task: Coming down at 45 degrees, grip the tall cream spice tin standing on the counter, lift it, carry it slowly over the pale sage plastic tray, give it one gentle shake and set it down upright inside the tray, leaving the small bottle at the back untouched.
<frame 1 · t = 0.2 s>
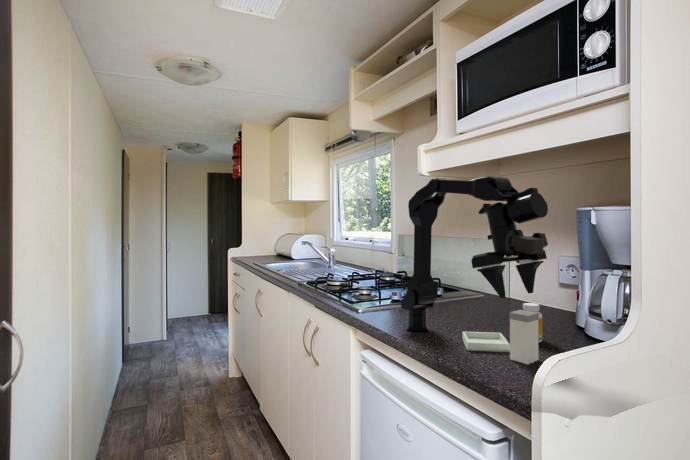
hand: (517, 295, 91), 15 cm above the worktop, tool pointing down, fingers open, 9 cm apart
tray: (484, 345, 104), on the worktop
supplement bottle: (531, 340, 108), on the worktop
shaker: (524, 359, 93), on the worktop
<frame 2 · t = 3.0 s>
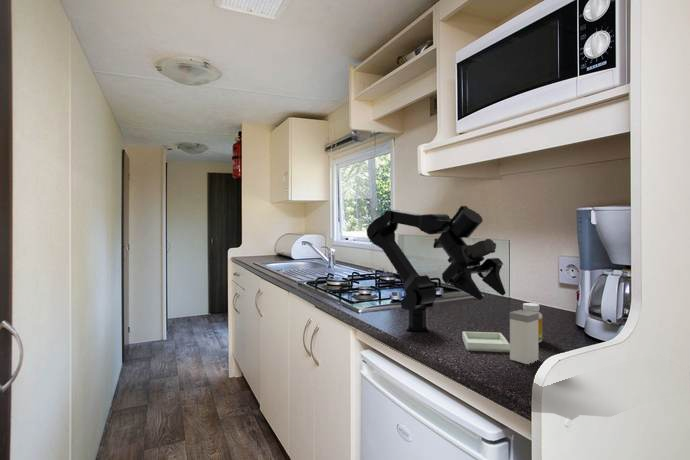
hand: (493, 296, 99), 13 cm above the worktop, tool tilted 45°, fingers open, 9 cm apart
nothing on the worktop moved.
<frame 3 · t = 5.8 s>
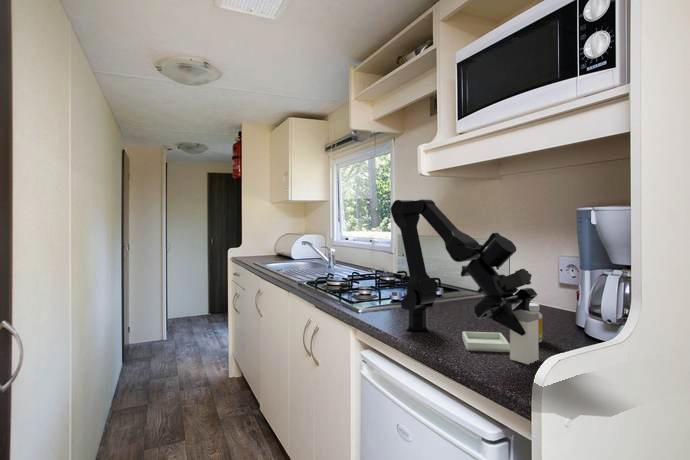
hand: (529, 332, 92), 7 cm above the worktop, tool tilted 45°, fingers closed on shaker, 4 cm apart
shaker: (524, 359, 93), on the worktop, touching gripper
everything else where it was.
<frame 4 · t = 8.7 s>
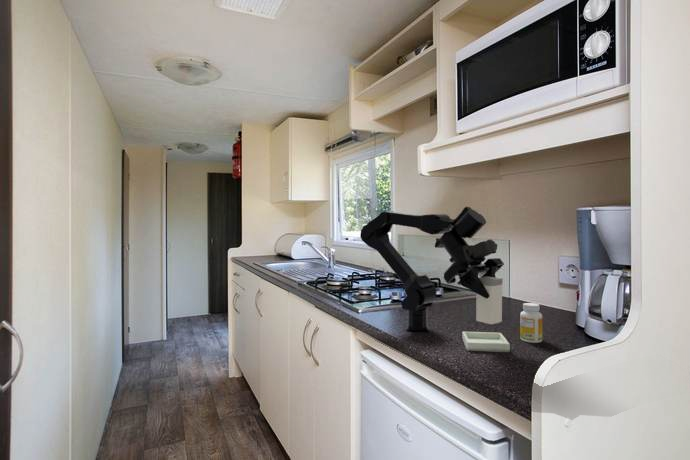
hand: (493, 296, 101), 13 cm above the worktop, tool tilted 45°, fingers closed on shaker, 4 cm apart
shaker: (488, 321, 103), point 7 cm above the worktop, touching gripper
everything else where it was.
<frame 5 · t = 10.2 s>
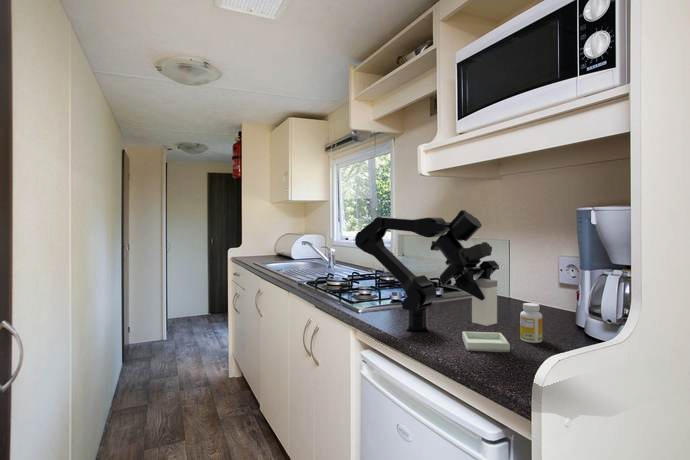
hand: (489, 298, 103), 12 cm above the worktop, tool tilted 45°, fingers closed on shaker, 4 cm apart
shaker: (484, 322, 104), point 6 cm above the worktop, touching gripper
everything else where it was.
when the fingers open (8 cm above the worktop, at t = 11.4 s): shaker stays where it is, resting on tray.
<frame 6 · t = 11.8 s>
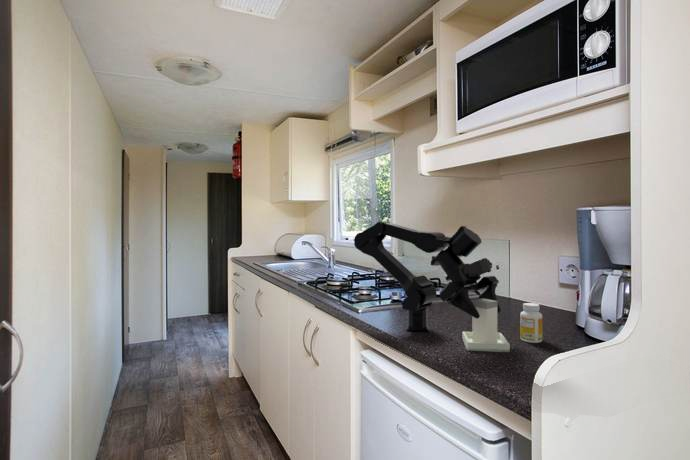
hand: (489, 314, 103), 8 cm above the worktop, tool tilted 45°, fingers open, 9 cm apart
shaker: (484, 342, 104), point 1 cm above the worktop, touching tray
everything else where it was.
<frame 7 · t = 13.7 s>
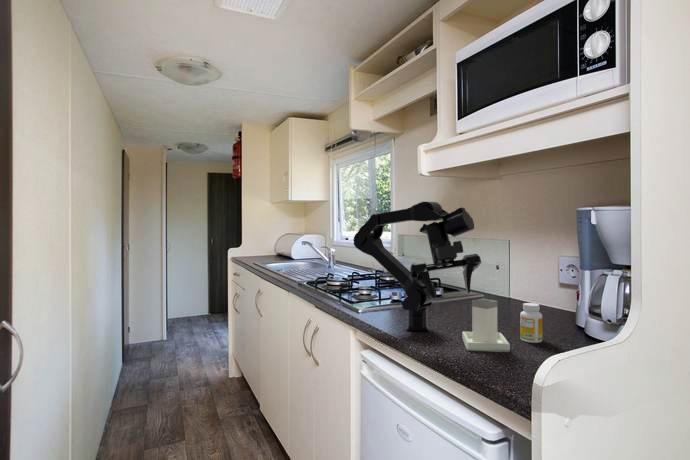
hand: (451, 295, 108), 12 cm above the worktop, tool tilted 25°, fingers open, 9 cm apart
nothing on the worktop moved.
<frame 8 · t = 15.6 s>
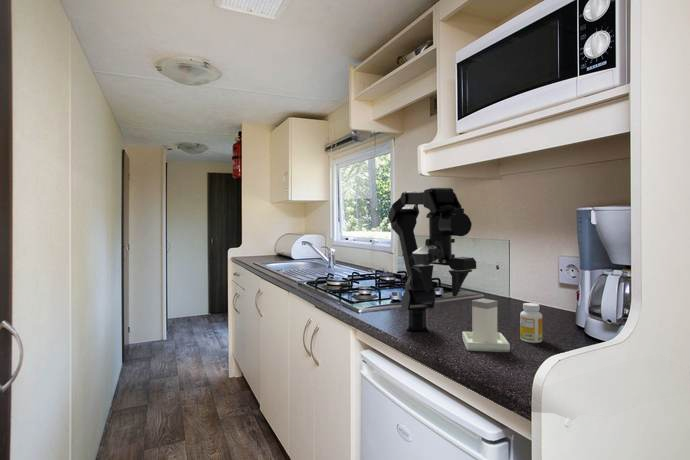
hand: (440, 293, 107), 13 cm above the worktop, tool pointing down, fingers open, 9 cm apart
nothing on the worktop moved.
at the end: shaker inside the target area on the tray (0.0 cm from its centre), point 0.6 cm above the tray's base; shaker tilted 0°; the gripper is holding nothing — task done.
